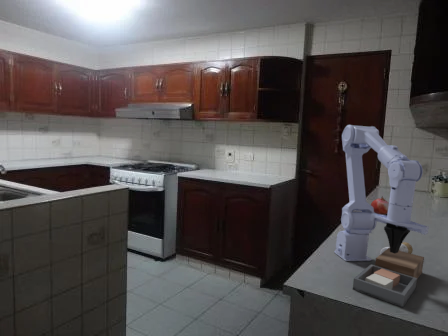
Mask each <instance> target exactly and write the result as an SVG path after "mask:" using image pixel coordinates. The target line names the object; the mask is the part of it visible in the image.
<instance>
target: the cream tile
mask: <svg viewBox="0 0 448 336" xmlns="http://www.w3.org/2000/svg"><path fill="white" fill-rule="evenodd" d="M365 281H367V282H370V283H373V284H376V285H379V286H381V287H384V288H387V289H390V290H392V287H393V280H391V279H388V278H386V277H383V276H380V275H378V274H375V273H374V274H372V275H370V276H368V277H366V280H365Z"/></svg>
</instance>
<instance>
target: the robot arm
mask: <svg viewBox="0 0 448 336" xmlns="http://www.w3.org/2000/svg"><path fill="white" fill-rule="evenodd" d="M341 141H342V142H341V143H342V151H343V152H344V153H345V163H346V164H345V165H346V178H347V187H348V198H349V202H348V203H346V204H345V205H344V206H343V207H341V218H340V221H341V226H342V227H343V230H340V231H338V232H337V235H336V241H335V250H334V251H333V252H334V253H335V254H336V255H338V256H339V257H340V258H341V259H342V260H343V261H346V262H372V261H373V259H372V258H371V257H369V256H368V255H367V253H368V247H369V246H368V245H369V237H370V234H372V231H373V230H375V229H376V227H377V223H382V224H385V225H384V226H383V230H384V232H385V234H386V237H387V240H388V245H389V246H388V247H390V252H392V253H398V251H399V248H400V246H401V244H402V243H403V242H404V241H405V239H406V237H407V236H408V235H409V234H410V232H416V233H420V234H421V235H424V236H425V235H428V234H429V226H428V225H424V224H421V223H418V222H415V221H412V213H413V212H412V211H413V205H414V204H413V203H414V197H415V191H416V183H417V182H419V181H420V180H421V179H422V177H423V172H424V169H423V166H422V164H421V163H420V161H419V160H415V159H414V160H413V159H412V160H411V159H409V158H408V156H407V154H404V153H402V152H401V150H400V149H399V147H398V146H397V145H391V144H389V145H388V144H387V142H386V141H385V140H384V139H383V138H382V137H381V136H380V131H379V129H377V128H376V126H373V125H371V126H363V125H353V124H347V125H346V126H345V127H344V129H343V131H342V133H341ZM370 149H372V150H373V151H374V152H376V153H377V159H378V161H379V162H380V163H381V164H382V165H383V166H384V167H385V168H386V169H387V174H388V179H389V180H388V181H389V183H388V184H389V187H390V192H389V199H388V200H389V201H388V203H389V206H388V213H387V215H386V214H384V215H380V214H377V213H374V208H373V207H372V206H371V203H369V202H368V201H367V197H366V186H365V174H364V166H363V165H364V164H363V155H364V154H367V153H368V152H369V151H370Z"/></svg>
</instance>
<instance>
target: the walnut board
mask: <svg viewBox="0 0 448 336" xmlns="http://www.w3.org/2000/svg"><path fill="white" fill-rule="evenodd" d="M424 260H425V257H424V256H423V255H422V256H421V255H417V254H413V253H411V254H410V253H406V252H403V251H398V253H392V252H390V248H388V249H387V250H386V251H384V252H383V253H382V254H381V255H380V254H379V255H378V256H377V257H376V258H375V262H374V265H375V266H378V267H382V268H385V269H388V270H392V271H395V272H398V273H401V274H405V275H408V276H411V277H415V278H417V280H418V279H419V277H420V276H421V275H422V273H423V270H424V268H423V267H424Z"/></svg>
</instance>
